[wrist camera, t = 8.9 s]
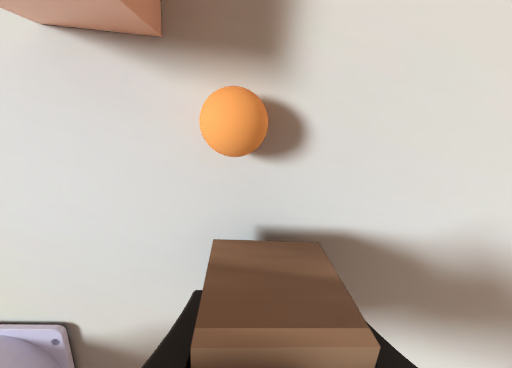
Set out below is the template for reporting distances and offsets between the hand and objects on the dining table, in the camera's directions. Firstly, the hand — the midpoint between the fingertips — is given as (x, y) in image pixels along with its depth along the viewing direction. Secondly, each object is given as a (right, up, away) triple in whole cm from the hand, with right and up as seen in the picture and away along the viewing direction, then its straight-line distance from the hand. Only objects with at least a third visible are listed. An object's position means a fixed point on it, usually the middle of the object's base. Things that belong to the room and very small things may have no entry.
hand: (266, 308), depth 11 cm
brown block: (0, 0, +1) cm, 2 cm away
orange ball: (-2, +9, +1) cm, 9 cm away
